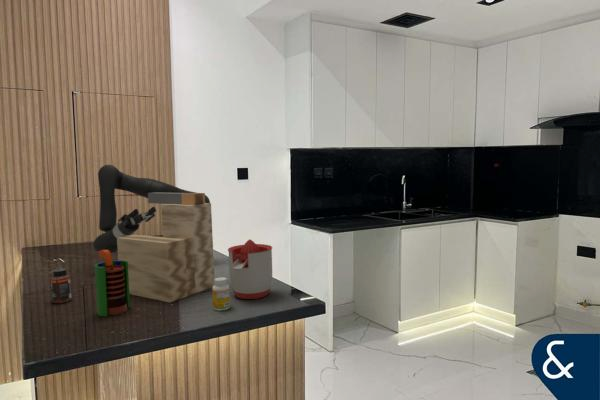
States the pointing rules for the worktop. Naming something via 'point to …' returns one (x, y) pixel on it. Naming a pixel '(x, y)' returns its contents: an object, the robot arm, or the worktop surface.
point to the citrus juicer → (250, 270)
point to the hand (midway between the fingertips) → (146, 209)
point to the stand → (172, 255)
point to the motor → (111, 285)
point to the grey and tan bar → (176, 198)
